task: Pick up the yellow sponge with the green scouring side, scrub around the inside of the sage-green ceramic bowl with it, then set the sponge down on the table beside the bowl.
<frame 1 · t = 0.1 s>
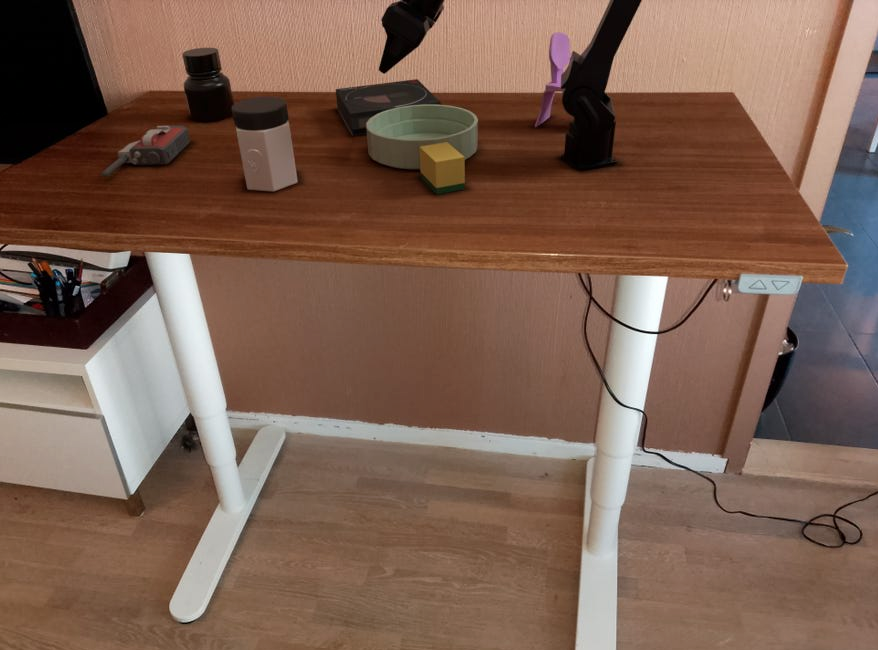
hand: (387, 64, 110), 15 cm above the table, tool tilted 35°, fingers open, 9 cm apart
bowl: (422, 151, 121), on the table
ink bottle: (213, 116, 144), on the table
portable cd player: (387, 118, 137), on the table
walkie-talkie: (150, 161, 125), on the table
sponge: (442, 183, 109), on the table
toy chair: (564, 126, 128), on the table
jar: (271, 182, 114), on the table
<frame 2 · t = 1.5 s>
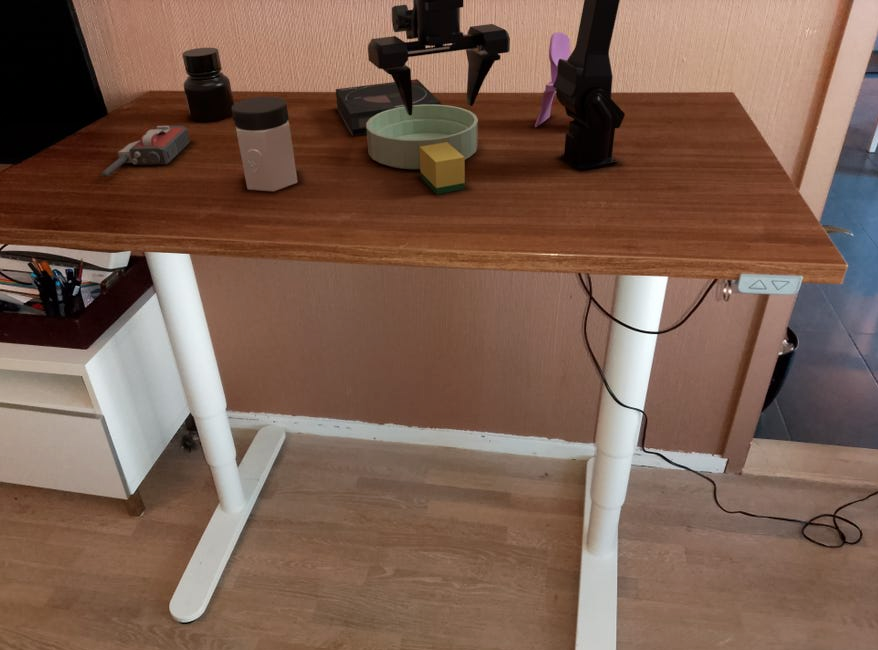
hand: (440, 109, 103), 11 cm above the table, tool pointing down, fingers open, 9 cm apart
nothing on the table moved.
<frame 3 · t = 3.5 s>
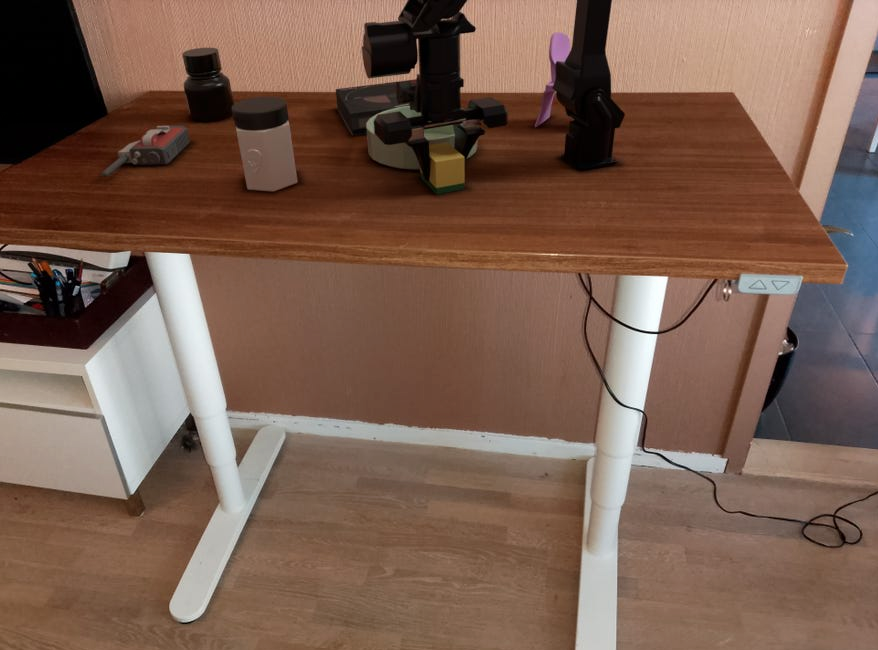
hand: (442, 177, 108), 1 cm above the table, tool pointing down, fingers closed on sponge, 4 cm apart
sponge: (442, 183, 109), on the table, touching gripper
everything else where it was.
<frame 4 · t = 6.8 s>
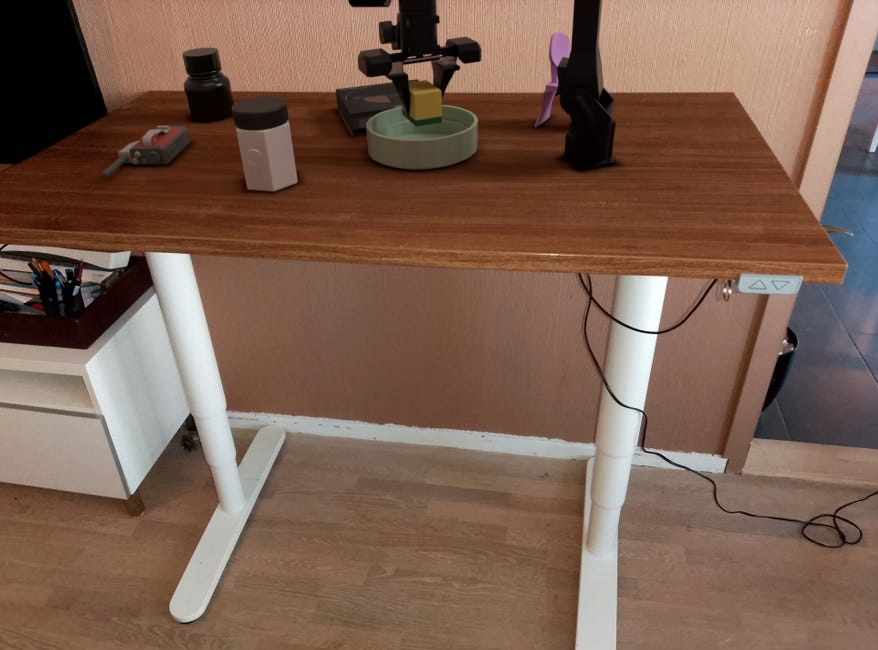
hand: (421, 112, 117), 6 cm above the table, tool pointing down, fingers closed on sponge, 4 cm apart
sponge: (421, 118, 118), point 5 cm above the table, touching gripper
everything else where it was.
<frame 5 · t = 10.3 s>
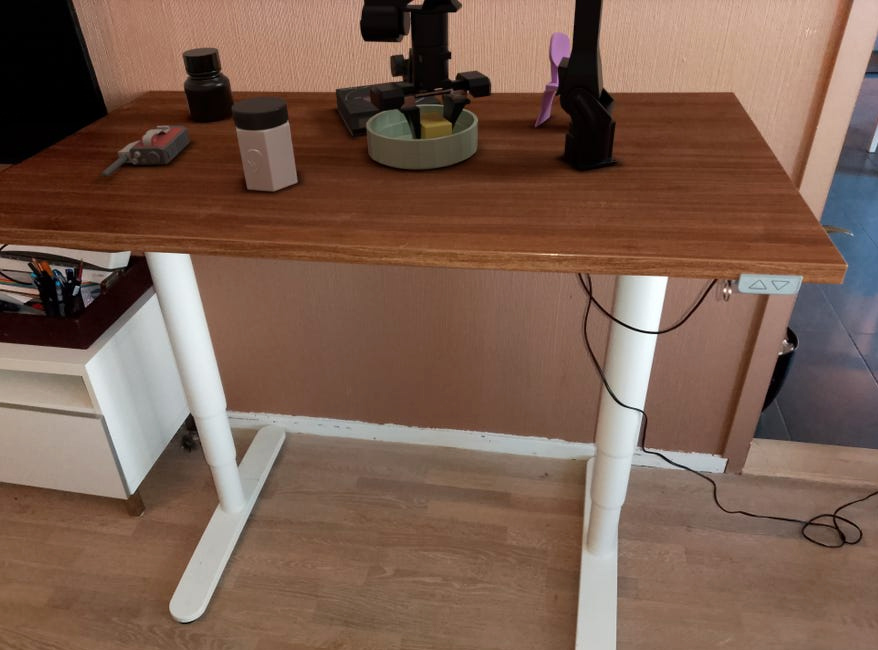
hand: (431, 143, 119), 2 cm above the table, tool pointing down, fingers closed on sponge, 4 cm apart
sponge: (431, 149, 120), point 1 cm above the table, touching bowl, gripper
everything else where it was.
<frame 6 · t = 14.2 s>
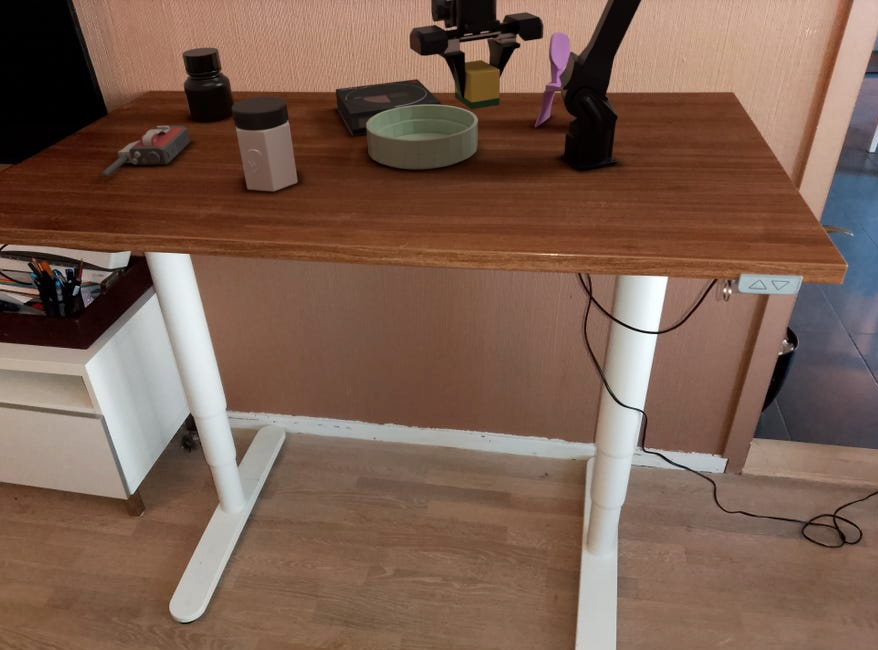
hand: (476, 94, 109), 11 cm above the table, tool pointing down, fingers closed on sponge, 4 cm apart
sponge: (476, 101, 109), point 10 cm above the table, touching gripper
everything else where it was.
when the fingers open (1 cm above the table, at t = 17.4 s): sponge stays where it is, on the table.
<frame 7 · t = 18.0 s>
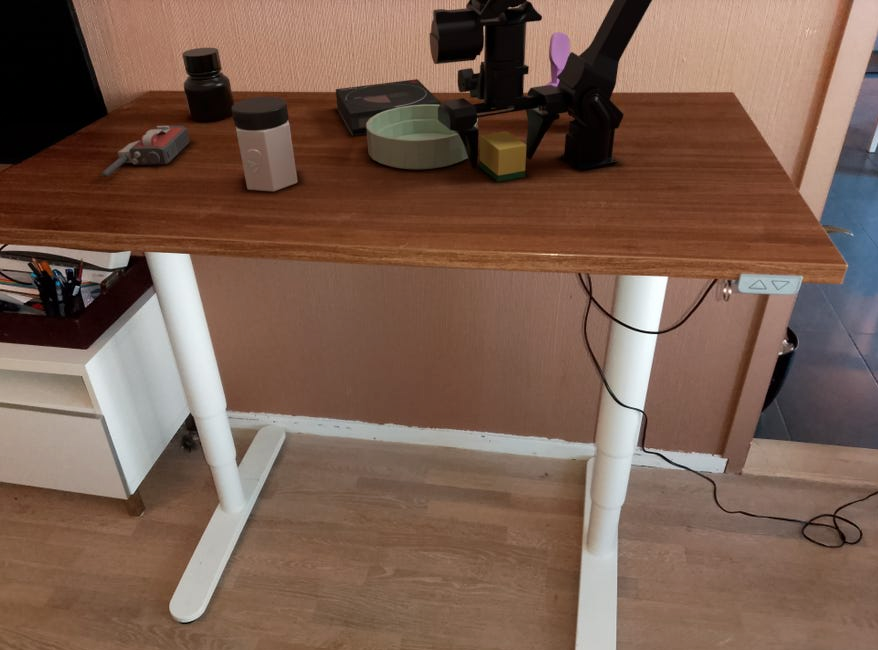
hand: (501, 163, 111), 1 cm above the table, tool pointing down, fingers open, 9 cm apart
sponge: (501, 171, 112), on the table
everything else where it was.
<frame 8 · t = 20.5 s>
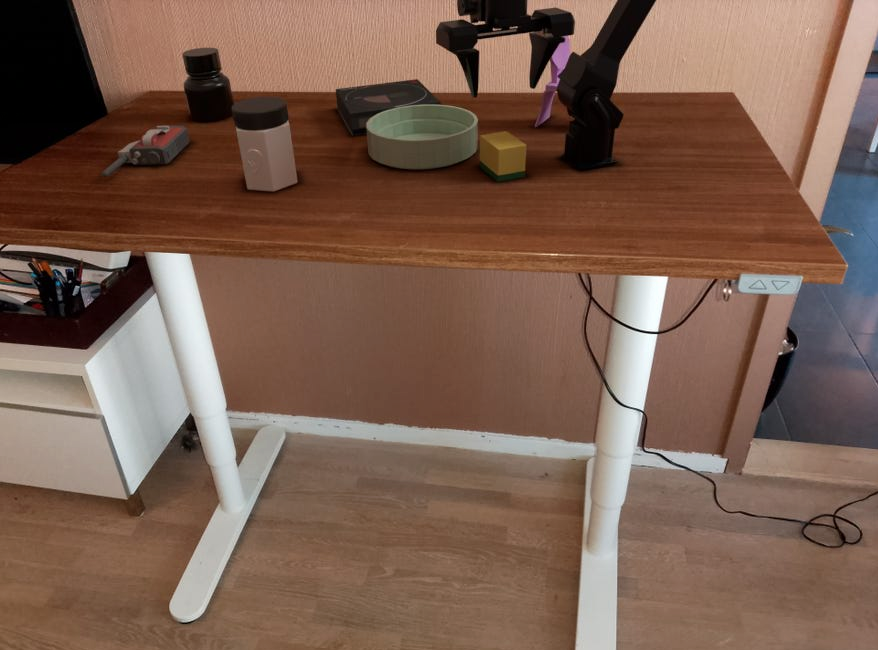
hand: (503, 92, 105), 12 cm above the table, tool pointing down, fingers open, 9 cm apart
nothing on the table moved.
at the end: sponge inside the target area (0.1 cm from its centre), on the table; the gripper is holding nothing; sponge tilted 0° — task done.
